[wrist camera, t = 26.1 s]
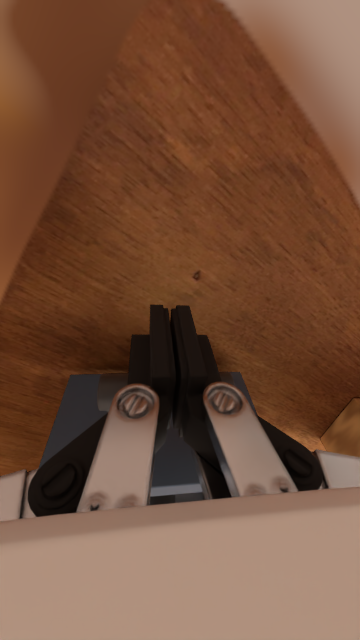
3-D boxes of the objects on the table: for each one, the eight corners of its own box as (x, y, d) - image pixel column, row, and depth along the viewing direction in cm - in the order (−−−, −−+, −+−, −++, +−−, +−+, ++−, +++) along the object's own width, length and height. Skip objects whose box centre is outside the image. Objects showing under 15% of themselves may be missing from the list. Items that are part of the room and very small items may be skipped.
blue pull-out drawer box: (54, 311, 14) (-17, 436, 8) (259, 315, 16) (328, 420, 10) (94, 467, 25) (77, 566, 19) (209, 459, 27) (226, 548, 21)
